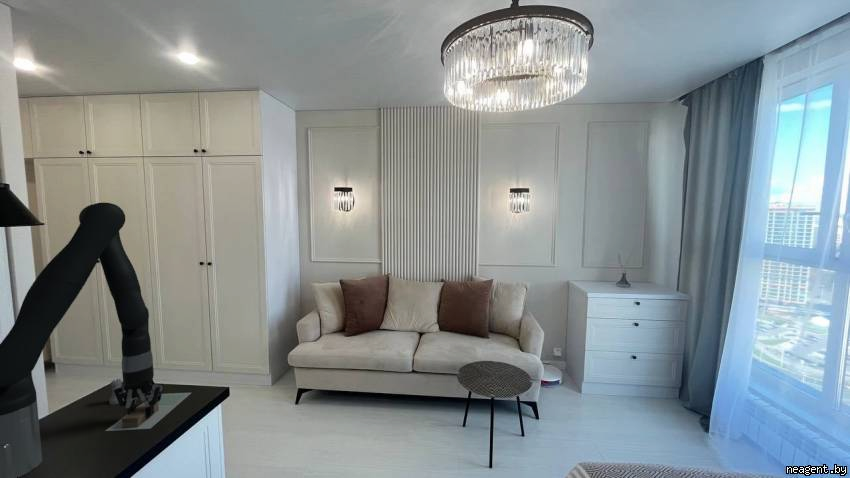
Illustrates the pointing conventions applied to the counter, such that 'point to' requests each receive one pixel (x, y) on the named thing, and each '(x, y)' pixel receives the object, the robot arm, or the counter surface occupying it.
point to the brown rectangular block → (137, 416)
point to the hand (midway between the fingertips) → (141, 416)
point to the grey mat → (164, 407)
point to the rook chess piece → (114, 385)
